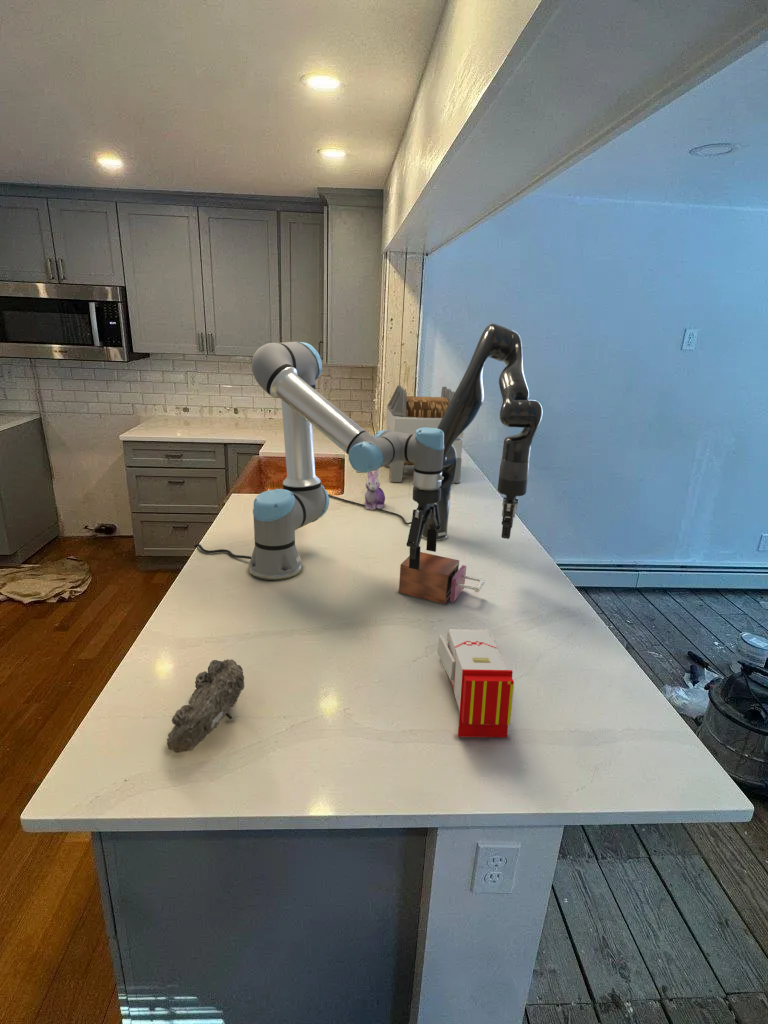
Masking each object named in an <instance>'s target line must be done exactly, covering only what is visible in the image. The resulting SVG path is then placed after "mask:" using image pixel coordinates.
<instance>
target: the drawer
mask: <svg viewBox="0 0 768 1024" xmlns="http://www.w3.org/2000/svg"><path fill="white" fill-rule="evenodd" d="M466 574H467V565H464V564H462V565H461V566H460V567H459V570H458V571H457V573H456V568H455V569H454V570H453V572H452V573H451V574H450V575H449V577H448V586H447V595H448V594H449V593H450V591H451V595H450V598H449V602H451V603H455V602H456V600H457V599H458V597H459V596H460V594H461V593H462V591H463V590H464V589H467V590H473V591H474V592H475V593H479V592H480V591H481V589H482V588H483V586H484V585H485V583H486V581H487V580H486V578H485V577H481V578H479V577H473V576H469V575H466ZM466 579H467V580H472V581H475V582H477V584H475V585H476V586H471V585H467V584H465V583H466Z"/></svg>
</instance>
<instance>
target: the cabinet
mask: <svg viewBox="0 0 768 1024" xmlns="http://www.w3.org/2000/svg"><path fill="white" fill-rule="evenodd" d="M409 557H410V555H408V557H406V558H405V559H404V560H403V561H402V562H401V563H400V566H399V581H398V593H399V594H403V595H406V596H410V597H415V598H419V599H423V600H425V601H430V602H435V603H439V604H441V605H442V604H443V605H446V603H447V602H448V601H449V600H450V595H451V591H450V593H449V594H448V595H447V586H448V577H449V575H450V574H451V573H452V572H453V570H454V569H455V568H456V573H457V571H458V570H459V569H460V560H459V559H455V558H450V557H446V556H441V555H436V554H432V553H429V552H428V553H427V552H422V551H420V566H419V570H417V569H412V568H409Z"/></svg>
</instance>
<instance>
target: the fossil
mask: <svg viewBox="0 0 768 1024" xmlns="http://www.w3.org/2000/svg"><path fill="white" fill-rule="evenodd" d="M243 670H244V669H243V667H242V665H240V664H237V662H236V661H235V660H234V659H232V658H231V659H227V658H226V659H224V660H223V661H222V660H217V659H212V660H211V661H210V663H209V665H208V666H207V671H201V672H199V673H198V674H197V675H196V676H195V680H194V684H195V685H194V687H195V689H194V690H193V693H192V694H191V697H190V698H189V700H188V704H184V705H182V706H181V707H180V709H177V710H176V711H175V713H174V715H173V716H172V718H171V723H172V724H173V727H172V730H171V731H170V732H168V734H167V738H166V741H167V742H166V745H167V749H168V750H169V751H173V752H174V753H176V754H178V753H182V752H188V751H189V752H192V751H193V750H195V748H196V747H197V746H199V744H200V743H201V742H203V741H204V740H205V739H206V738H207V737H208V736H209V735H210V734H211V733H212V732H214V730H215V729H217V727H218V726H219V724H220V722H221V721H222V720H223V719H224V718H225V716H226V717H227V719H229V720H233V717H232V715H230V714H229V710H230V709H231V708H234V706H235V704H236V703H237V702H238V699H239V697H240V695H241V693H242V691H243V690H245V689H244V688H245V675H244V671H243Z"/></svg>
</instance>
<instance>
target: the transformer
mask: <svg viewBox="0 0 768 1024" xmlns="http://www.w3.org/2000/svg"><path fill="white" fill-rule="evenodd" d="M440 393H441V394H440V396H415V395H414V396H413V395H412V396H411V395H407V394H408V393H407V390H406V389H404V388H403V387H402V385H399V384H398V385H397V386H396V388H395V390H394V392H393V394H392V395H391V398H390V400H389V402H388V404H387V405H386V413H385V414H386V415H385V423H386V428H385V431H388V430H391V431H394V432H401V433H407V434H416V430H417V429H419V428H424V427H428V428H438V426H439V424H440V421H441V419H442V418H443V416H444V414H445V412H446V410H447V408H448V406H449V403H450V401H451V399H452V397H453V395H454V393H455V391H453V390H452V389H451V388H447V386H442V387H441V392H440ZM464 431H465V430H464ZM464 431H463V432H462V433H461V434H460V435H459V436H458V437H457V438H456V439H455V441H454V442H453V444H452V446H453V447H454V448H455V451H456V455H457V461H456V470H455V477H454V481H453V484H455V483H456V484H459V483H461V472H462V461H463V460H462V453H463V442H464V441H463V440H462V439H463V438H464ZM405 466H406V467H407V466H411V467H412V466H413V467H414V463H410V462H404V461H394V462H392V463H390V464H387V465H384V466H383V467H388V468H389V475H388V476H389V477H388V478H389V480H390V482H391V483H402V482H403V475H404V469H405Z"/></svg>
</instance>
